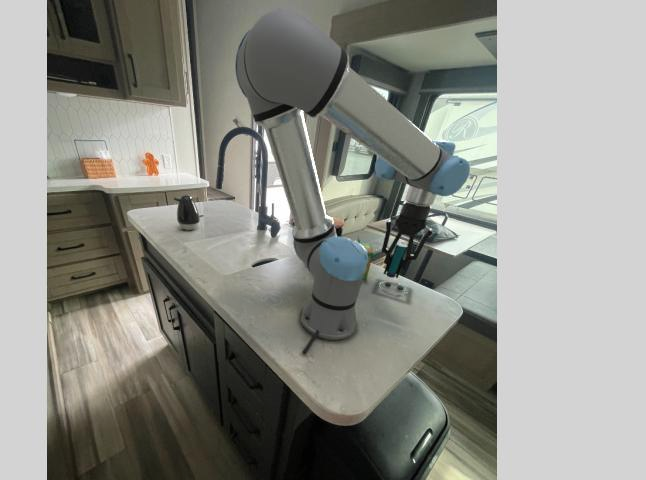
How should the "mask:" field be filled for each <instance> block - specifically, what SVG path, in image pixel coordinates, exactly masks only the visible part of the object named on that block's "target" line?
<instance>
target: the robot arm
mask: <svg viewBox="0 0 646 480" xmlns="http://www.w3.org/2000/svg"><path fill="white" fill-rule="evenodd" d="M234 63H235V65H234V66H235V67H234V69H235V77H236V81H237V85H238V87H239V89H240V90H241V93H242V94H243V96H244V97H245V98H246V100H247V102H248V106H249V108H250V111H251V114H252V117H253V121H254V123H255V124H256V125H258V126H259V127H261V128H263V129H264V131H265V134H266V138H267V140H268V144H269V147H270V151H271V153H272V156H273V159H274V163H275V165H276V169H277V172H278V175H279V178H280V181H281V184H282V188H283V191H284V194H285V197H286V201H287V203H288V204H287V205H288V207H289V210H290V214H291V216H292V219H293V222H294V225H293V227H292V229H291V234H292V237H293V242H292V243H293V248H294V252H295V254H296V256H297V257H298V259H299V260H300V261H301V262H302V263H303V264H304V265H305V267H306V268H307V270H308V271H309V273H310V274H311V275H312V277H313V283H312V290H311V295H310V297H309V299H308V301H307V302H306V304H305V305H304V307H303V309H302V310H301V315H300V317H301V318H300V322H301V325H302V326H303V328H304V329H305V330H306V331H307V332H308V333H310V334H311V335H312V336H311V338H310V339H309V340H308V343H307V344H306V346H305V347H304V348H303V350H302V354H307V353H308V350H309V349H310V347H311V346H312V345H313V343H314V342H315V340H316V338H319V339H322V340H327V341H342V340H345V339H346V340H347V339H348V338H350V337H351V336H352V335H353V334H354V332H355V330H356V326H357V315H356V303H357V299H358V296H359V292H360V290H361V286H362V283H363V281H364V280H363V277H364V274H365V272H366V269H367V261H368V254H367V251H366V250H365V248H364V247H363V246H362V245H361V244H359V243H358V241H356V240H352V239H351V238H349V237H346V236H345V237H344V236H341V237H337V234H336V230H335V225H334V221H333V218H332V217H333V216H331V215H328V214H326V208H325V203H324V199H323V195H322V191H321V187H320V182H319V177H318V174H317V167H316V165H315V160H314V156H313V152H312V148H311V143H310V139H309V138H310V137H309V134H308V133H309V132H308V130H307V125H306V122H305V116H304V113H305V114H306V115H308V116H309V117H310V118H313V119H315V118H318V117H322V118H324V119H325V120H326V121H328V122H329V123H331V124H332V125H333V126H335V127H336V128H338V129H339V130H340V131H342V132H343V133H345V134H346V135H347V136H349V138H351V139H353V140H354V141H355V142H357V143H359V144H360V145H361V146H362V147H364V148H365V149H367V150H368V151H370V152H371V153H373V154H374V155H375V156H376V161H375V163H374V172H375V175H376V177H377V178H378V179H380V180H386V181H397V182H400V183H402V184H405V185H408V188H407V191H406V194H405V197H404V202H402V206H401V209H400V211H399V215H398V216H397V217H396V218H395V219H388V220H387V221H386V222H385V228H386V231H385V235H384V240H383V242H382V247H381V252H382V253H384V254H385V257H384V261H383V264H384V265H385V268H384V271H383V275H386V274H387V270H388V267H389V264H390V261H391V259H392V256H393V252H394V250H395V247H396V245H397V243H399V241H400V239H401V238H402V235H407V236H409V237H408V243H407V249H406V252H405V256H404V257H403V259H402V261H401V264H400V266H399V269H398V272H397V274H396V275H395V278H396V279H398V278H399V276H400V274H401V271H402V269H403V270H405V269H407V266H408V264H409V261H416V260H417V259H418V257H419V255H420V253H421V251H422V249H423V247H424V245H425V244H426V242H427V240H428V239H429V238H430V237H431V236H432V235H433V232H434V229H433V228H430V227H428V226H427V220H428V217H429V215H430V212H431V210H432V205H434V202H435V200H436V198H437V196H440V197H449V196H452V195H454V194H456V193H457V192H459V191H460V190H461V189H462V188H463V186H464V185H465V184H466V182H467V181H468V178H469V176H470V173H471V172H470V171H471V166H470V162H469V161H468V160H467V159H465V158H463V157H459V156H458V155H454V154H455V150H456V143H454V142H453V141H449V140H447V141H446V140H438V139H431V138H430V137H429V136H427V134H425V133H424V132H423V131H422V130H421V129H419V127H418V126H416V125H415V124H414V123H413V122H412V121H411V120H410V119H409V118H408V117H406V116H405V115H404V114H403V113H402V112H400V111H399V110H398V109H397V108H396V107H395V106H394V105H393V104H392V103H390V101H388V100H387V99H386V98H385V97H384V96H383V95H382V94H381V93H379V92H378V91H377V90H376V89H375V88H374V87H373V86H372V85H370V84H369V83H368V82H367V81H366V80H364V78H363V77H362V76H360V75H359V74H358V73H357V72H356V71H355V70H354V69H353V68H351V66H350V56H349V54H348V52H346V51H345V50H344V49H343V48H342V47H341V46H340V45H339V44H338V43H337V42H335V41H334V40H333V39H332V38H331V37H330V36H329V35H327V34H326V33H325V32H324V31H323V30H322V29H321V28H319V26H317V25H316V24H315V23H314V22H312V21H311V20H310V19H308V18H307V17H305V16H304V15H303V14H301V13H299V12H297V11H295V10H293V9H288V8H275V9H271V10H269V11H267V12H265V13H264V14H263V15H261V16H260V17H259V18H258V19H257V20H256V21H255V23H254V24H253V25H252V27H251V28H250V29H249V30H247V32H246V33H245V34H244V35H243V37H242V39H241V40H240V42H239V45H238V48H237V50H236V55H235V62H234ZM395 225H396V228H397V231H398V232H397V233H396V235H395V237H394V239H393V241H392V242H391V245H390V246H389V248H388V245H389V241H390V237H391V233H392V230H393V228H394V226H395ZM420 232H422V236H421V238H420V240H419V242H418V244H417V246H416V248H415V250H414V252H413V254H412V250H413V244H414V240H415V236H416V235H417V234H418V233H420ZM386 276H387V275H386Z"/></svg>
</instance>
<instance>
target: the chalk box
mask: <svg viewBox="0 0 646 480" xmlns="http://www.w3.org/2000/svg"><path fill="white" fill-rule="evenodd" d="M360 240H361V239H360V235H358V234H357V242H358V243H359V244H361V245H362V246H363V247H364V248H365V250H366V251H367V254H368V261H367V269H366V272H365V274H364V277H363V280H362V281H365V282H366V281H367V279H368V275H369V271H370V268H371V265H372V260H373V258H374V257H373V256H374V250H373V248H372V245H371V244H370V243H366V242H365V243H364V242H361V241H360Z"/></svg>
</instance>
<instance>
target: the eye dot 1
mask: <svg viewBox="0 0 646 480" xmlns="http://www.w3.org/2000/svg"><path fill="white" fill-rule="evenodd" d="M384 286H385V287H388V288H390V287H392V282H384Z"/></svg>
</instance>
